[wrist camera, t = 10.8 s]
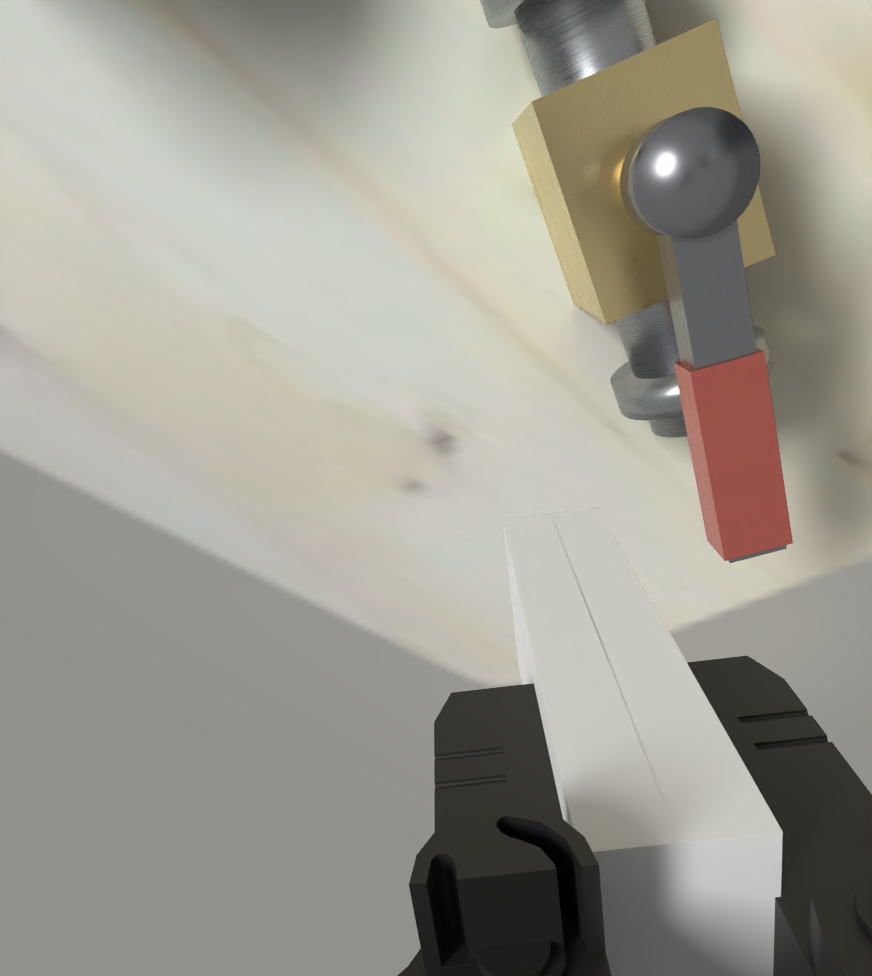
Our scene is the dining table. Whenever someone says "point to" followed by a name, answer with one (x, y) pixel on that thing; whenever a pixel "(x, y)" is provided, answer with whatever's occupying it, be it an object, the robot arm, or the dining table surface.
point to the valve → (617, 170)
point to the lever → (713, 319)
